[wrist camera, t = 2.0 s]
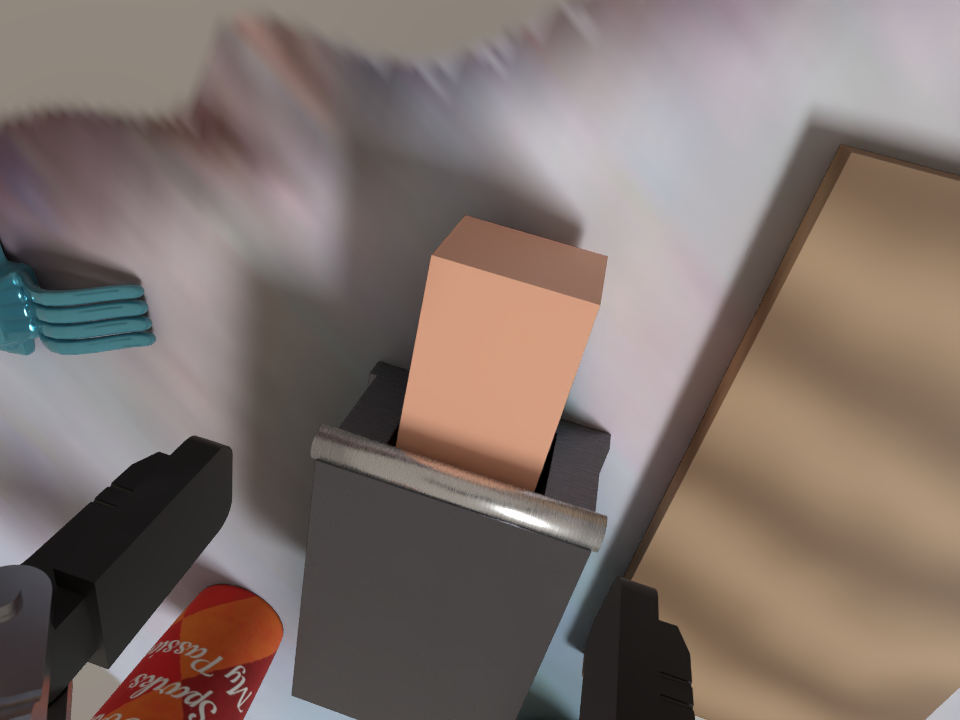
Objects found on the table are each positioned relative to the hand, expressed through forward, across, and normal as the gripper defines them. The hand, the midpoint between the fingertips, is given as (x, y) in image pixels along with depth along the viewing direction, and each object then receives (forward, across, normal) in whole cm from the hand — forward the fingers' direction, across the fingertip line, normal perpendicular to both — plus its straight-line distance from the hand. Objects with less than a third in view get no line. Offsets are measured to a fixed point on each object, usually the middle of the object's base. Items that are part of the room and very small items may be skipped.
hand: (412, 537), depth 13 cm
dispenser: (+13, 0, +12) cm, 18 cm away
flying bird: (+14, +23, +7) cm, 27 cm away
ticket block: (+12, 0, +6) cm, 14 cm away
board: (+13, -15, +6) cm, 21 cm away
